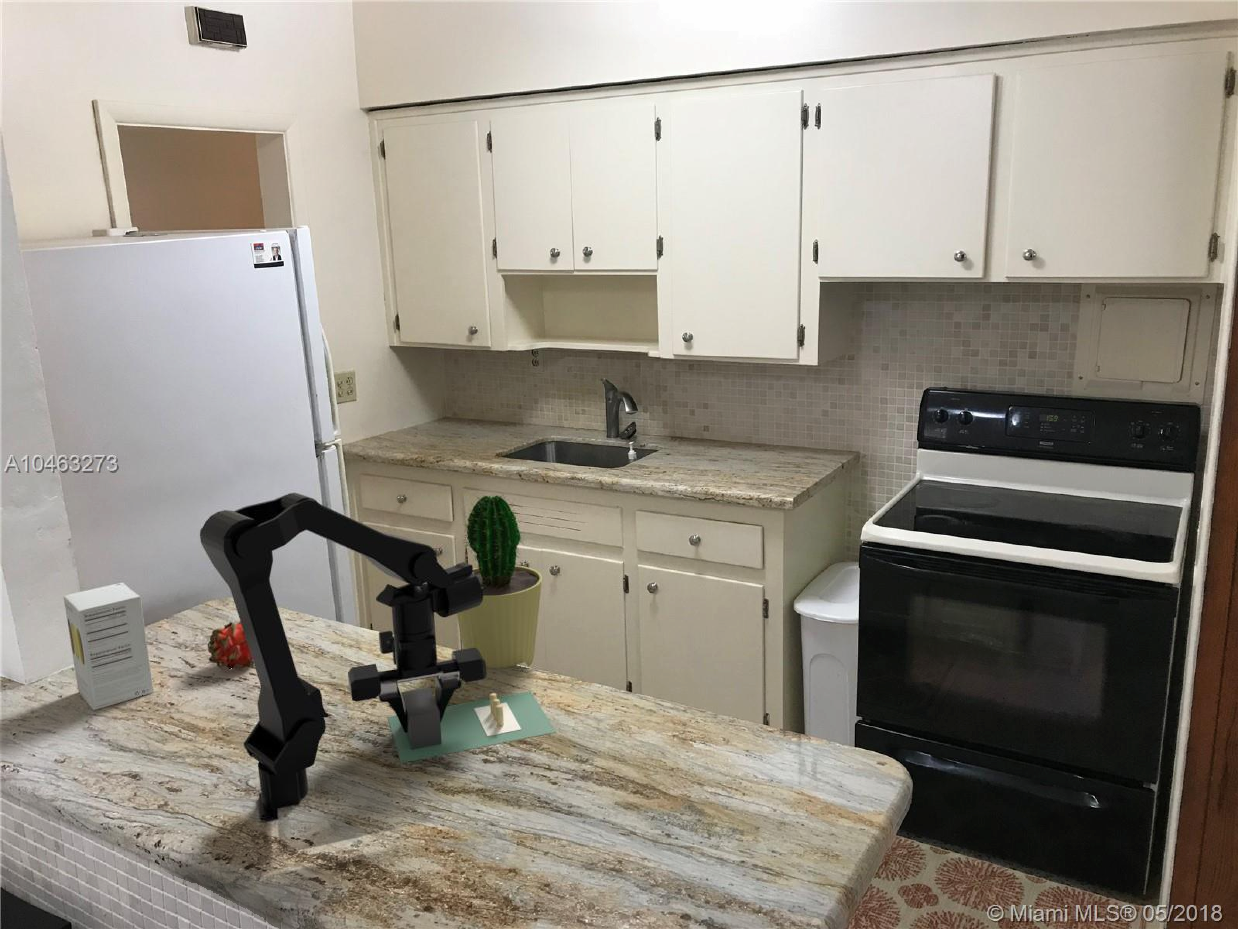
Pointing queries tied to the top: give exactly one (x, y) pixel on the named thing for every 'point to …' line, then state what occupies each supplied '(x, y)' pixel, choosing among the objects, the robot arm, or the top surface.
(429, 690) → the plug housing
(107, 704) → the supplement box
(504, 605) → the potted cactus
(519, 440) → the top surface
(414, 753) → the board
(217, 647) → the dragon fruit
